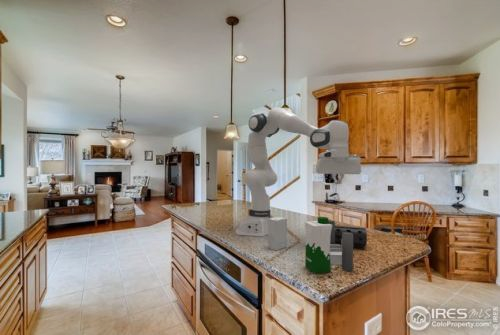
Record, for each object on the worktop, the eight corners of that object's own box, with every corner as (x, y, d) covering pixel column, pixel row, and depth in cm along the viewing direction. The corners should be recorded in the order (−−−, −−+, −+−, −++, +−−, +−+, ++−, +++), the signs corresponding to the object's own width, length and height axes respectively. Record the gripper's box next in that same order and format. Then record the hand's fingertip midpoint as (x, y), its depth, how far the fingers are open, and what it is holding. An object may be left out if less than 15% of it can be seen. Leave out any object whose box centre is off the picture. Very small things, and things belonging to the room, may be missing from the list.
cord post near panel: (327, 251, 112) (327, 222, 112) (324, 249, 116) (325, 220, 116) (335, 252, 112) (336, 222, 112) (333, 249, 116) (333, 220, 116)
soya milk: (334, 273, 89) (334, 219, 89) (312, 275, 87) (312, 220, 87) (322, 264, 97) (322, 215, 97) (301, 265, 95) (302, 216, 95)
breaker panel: (324, 264, 97) (324, 250, 97) (316, 252, 111) (316, 240, 111) (351, 265, 96) (352, 251, 96) (340, 253, 110) (340, 241, 110)
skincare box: (278, 244, 122) (278, 215, 122) (287, 247, 117) (287, 217, 118) (266, 248, 116) (267, 217, 117) (275, 251, 112) (276, 219, 112)
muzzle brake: (366, 251, 114) (367, 229, 114) (307, 245, 122) (307, 225, 122) (363, 245, 123) (363, 225, 123) (308, 240, 131) (308, 221, 132)
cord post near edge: (344, 271, 90) (344, 234, 90) (340, 267, 94) (340, 232, 94) (354, 271, 90) (354, 235, 90) (350, 267, 94) (350, 232, 94)
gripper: (358, 155, 114) (357, 183, 114) (315, 154, 115) (314, 182, 115) (363, 154, 108) (363, 184, 107) (318, 153, 108) (318, 183, 108)
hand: (337, 183), depth 111 cm, fingers closed
